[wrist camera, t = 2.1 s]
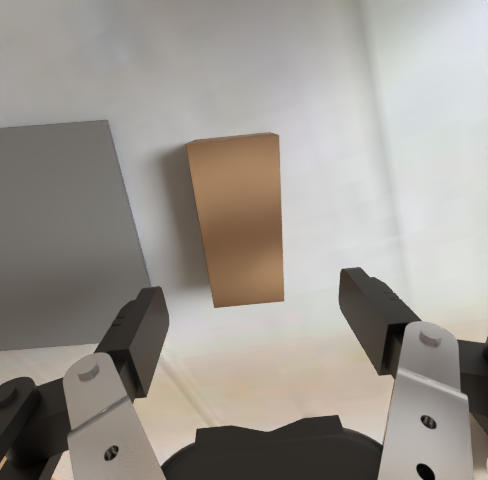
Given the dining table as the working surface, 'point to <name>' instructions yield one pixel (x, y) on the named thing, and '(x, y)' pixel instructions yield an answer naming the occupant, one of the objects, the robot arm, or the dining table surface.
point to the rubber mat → (64, 236)
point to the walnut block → (240, 216)
